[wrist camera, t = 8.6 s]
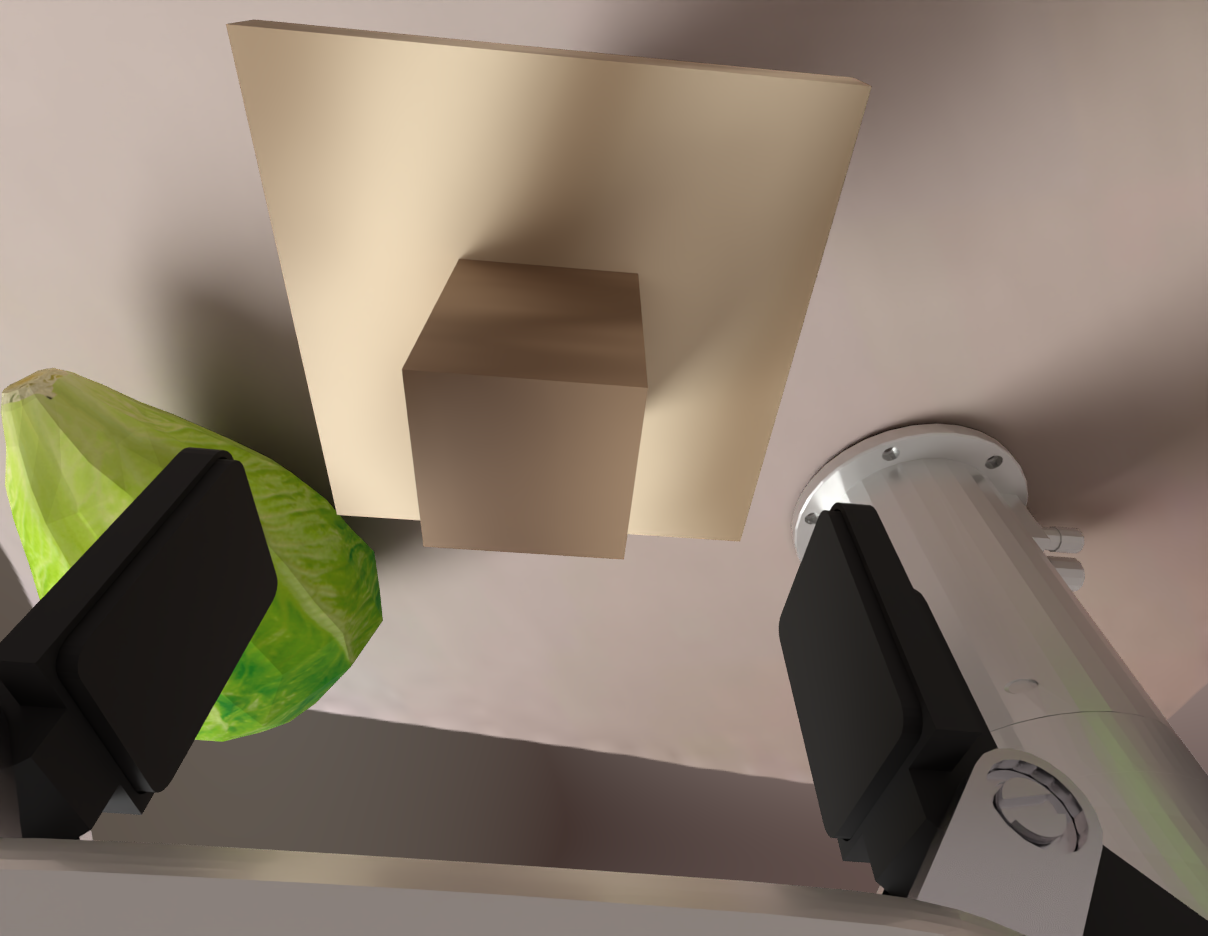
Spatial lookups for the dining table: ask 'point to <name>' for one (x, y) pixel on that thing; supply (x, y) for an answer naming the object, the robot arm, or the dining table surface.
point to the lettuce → (117, 477)
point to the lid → (542, 274)
